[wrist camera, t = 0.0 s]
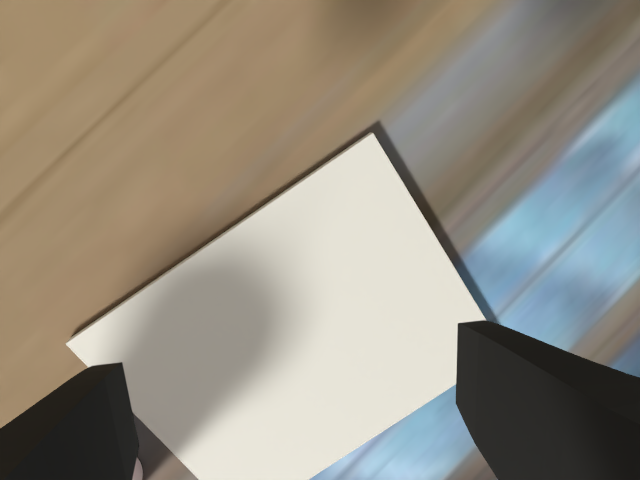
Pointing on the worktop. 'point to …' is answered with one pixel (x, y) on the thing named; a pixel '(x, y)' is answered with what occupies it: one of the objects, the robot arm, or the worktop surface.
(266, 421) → the mat
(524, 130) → the worktop surface
